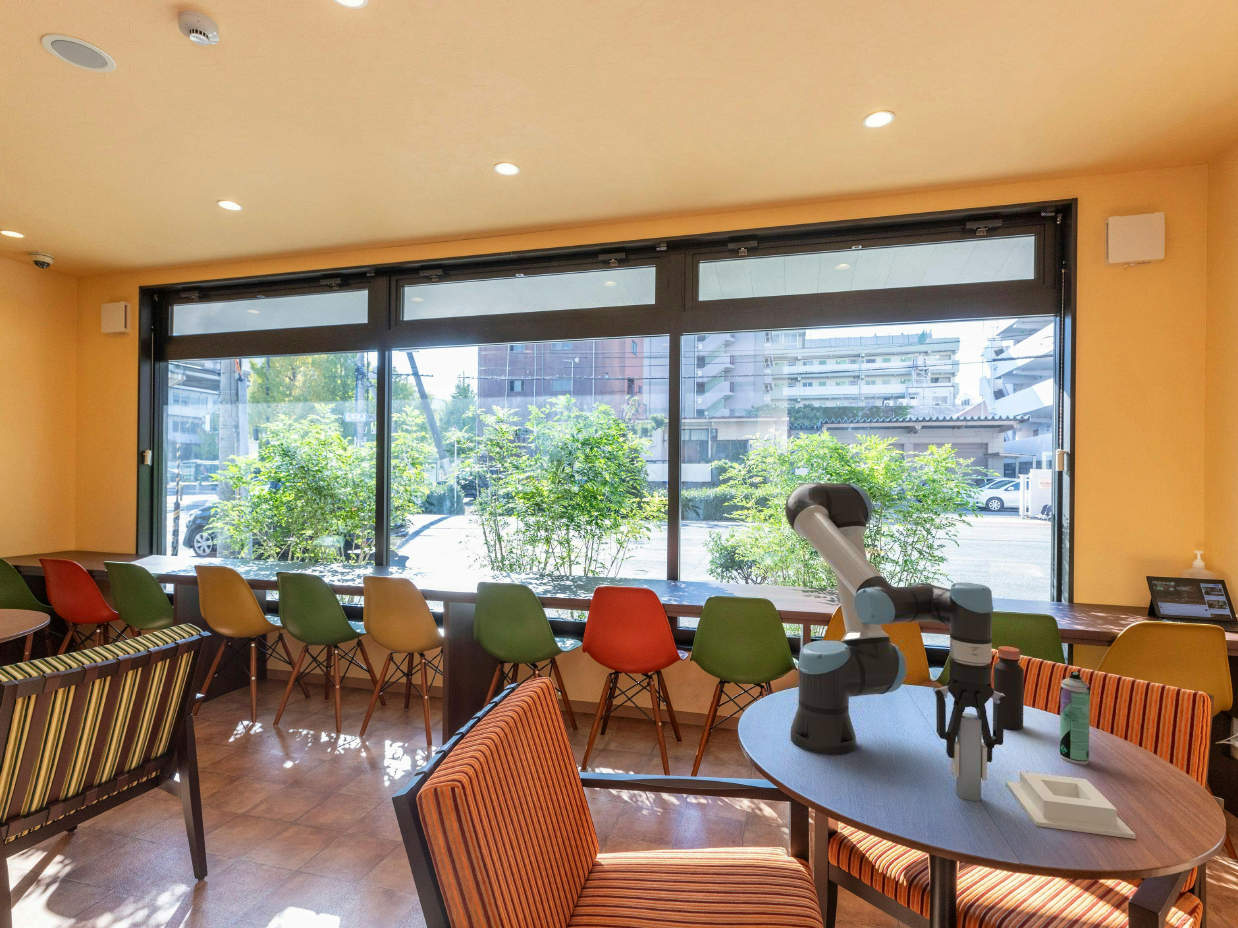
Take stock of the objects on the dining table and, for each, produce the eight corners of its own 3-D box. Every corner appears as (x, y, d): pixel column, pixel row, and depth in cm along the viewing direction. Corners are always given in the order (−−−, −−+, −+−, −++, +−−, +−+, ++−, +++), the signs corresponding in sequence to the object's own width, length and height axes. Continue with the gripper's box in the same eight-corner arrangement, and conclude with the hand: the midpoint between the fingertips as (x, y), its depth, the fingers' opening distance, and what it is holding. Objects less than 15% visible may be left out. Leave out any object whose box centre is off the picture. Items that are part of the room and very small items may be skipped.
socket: (1035, 825, 119) (1036, 804, 119) (1005, 784, 135) (1005, 765, 135) (1135, 838, 116) (1135, 816, 116) (1092, 795, 131) (1092, 775, 131)
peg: (959, 799, 129) (960, 719, 129) (953, 788, 133) (954, 711, 133) (983, 802, 128) (984, 721, 128) (976, 791, 132) (978, 713, 132)
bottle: (1023, 723, 168) (1024, 647, 168) (1023, 732, 162) (1024, 653, 163) (993, 718, 172) (994, 643, 172) (992, 726, 166) (993, 649, 166)
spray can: (1083, 755, 150) (1085, 670, 150) (1092, 766, 144) (1093, 677, 144) (1056, 752, 151) (1057, 667, 151) (1064, 762, 146) (1065, 674, 146)
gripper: (928, 661, 129) (926, 777, 129) (1025, 669, 125) (1023, 789, 125) (920, 651, 136) (918, 761, 136) (1011, 658, 132) (1009, 771, 132)
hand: (968, 774), depth 130 cm, fingers closed on peg, 4 cm apart
